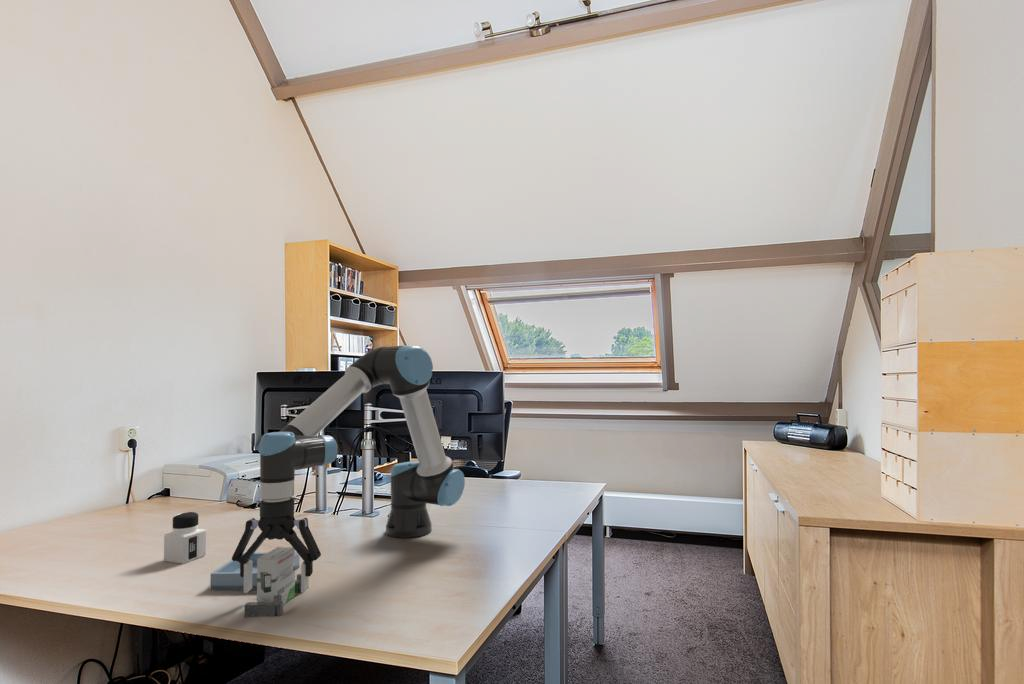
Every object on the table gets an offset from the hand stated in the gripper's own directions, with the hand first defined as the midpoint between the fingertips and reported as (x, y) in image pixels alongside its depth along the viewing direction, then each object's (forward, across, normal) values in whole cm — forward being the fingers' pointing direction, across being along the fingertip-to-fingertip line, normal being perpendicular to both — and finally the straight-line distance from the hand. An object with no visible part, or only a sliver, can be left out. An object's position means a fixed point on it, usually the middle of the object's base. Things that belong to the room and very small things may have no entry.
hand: (276, 590), depth 131 cm
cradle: (+3, 0, 0) cm, 3 cm away
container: (+3, +41, -32) cm, 52 cm away
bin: (+3, +12, -16) cm, 20 cm away
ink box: (+3, 0, 0) cm, 3 cm away
